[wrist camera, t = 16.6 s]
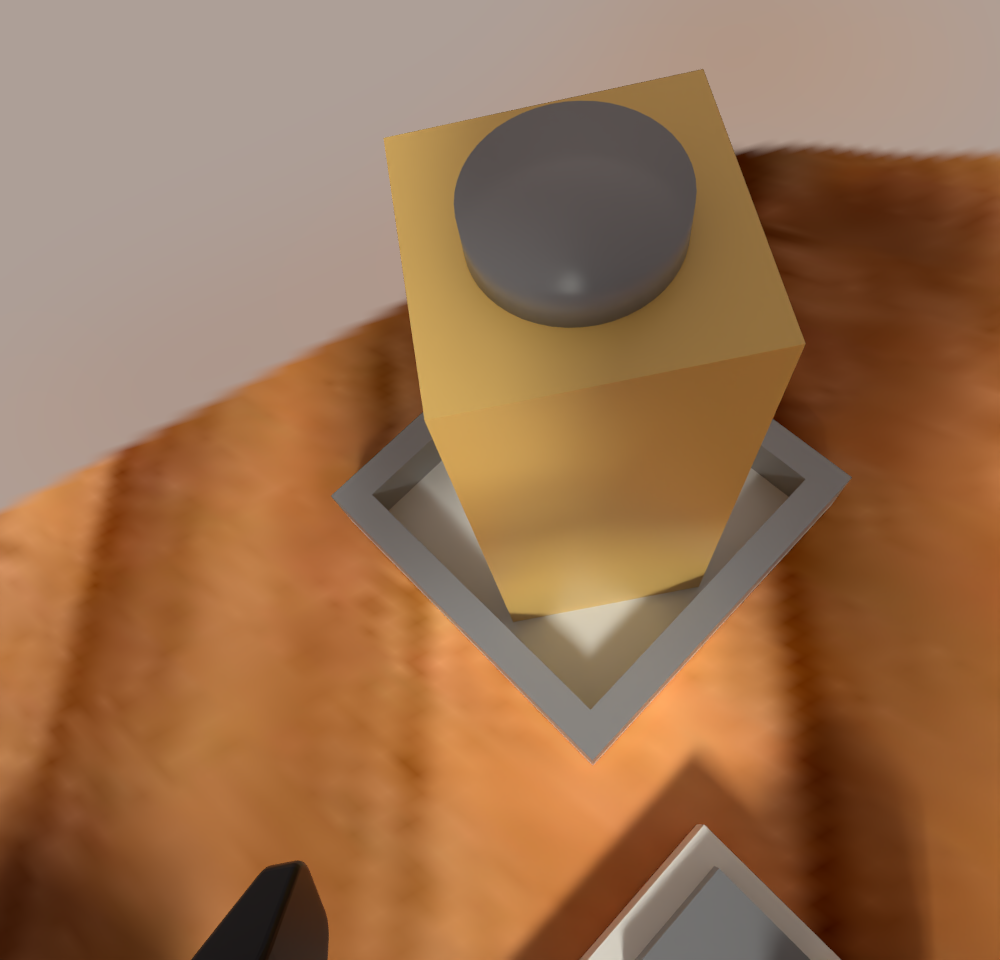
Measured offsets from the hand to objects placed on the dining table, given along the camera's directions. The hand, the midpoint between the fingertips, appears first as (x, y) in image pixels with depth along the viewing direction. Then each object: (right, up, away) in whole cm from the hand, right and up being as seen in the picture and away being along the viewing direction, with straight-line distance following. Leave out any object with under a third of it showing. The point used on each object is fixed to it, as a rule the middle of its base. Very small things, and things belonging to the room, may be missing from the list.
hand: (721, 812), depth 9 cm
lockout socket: (0, +3, +15) cm, 15 cm away
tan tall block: (0, +2, +14) cm, 14 cm away
